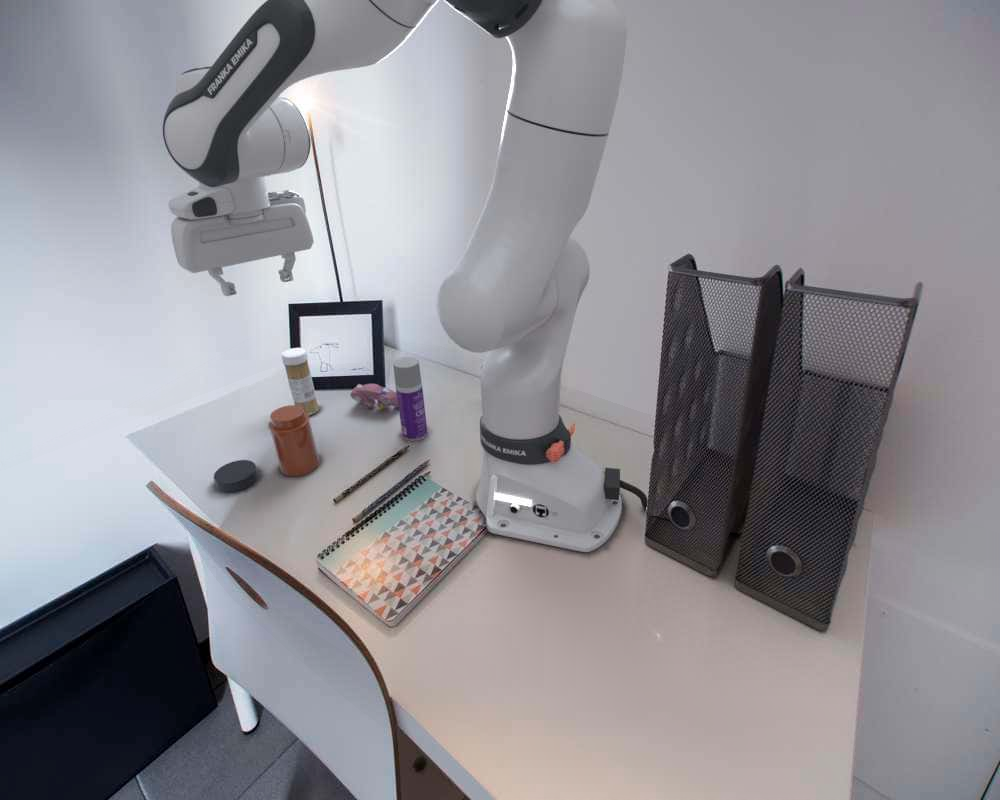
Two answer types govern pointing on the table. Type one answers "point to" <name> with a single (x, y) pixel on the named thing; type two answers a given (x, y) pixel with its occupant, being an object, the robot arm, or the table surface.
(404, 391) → the container
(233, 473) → the lid
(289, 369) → the sprinkles bottle
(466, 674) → the table surface
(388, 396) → the pink toy animal
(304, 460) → the jar
